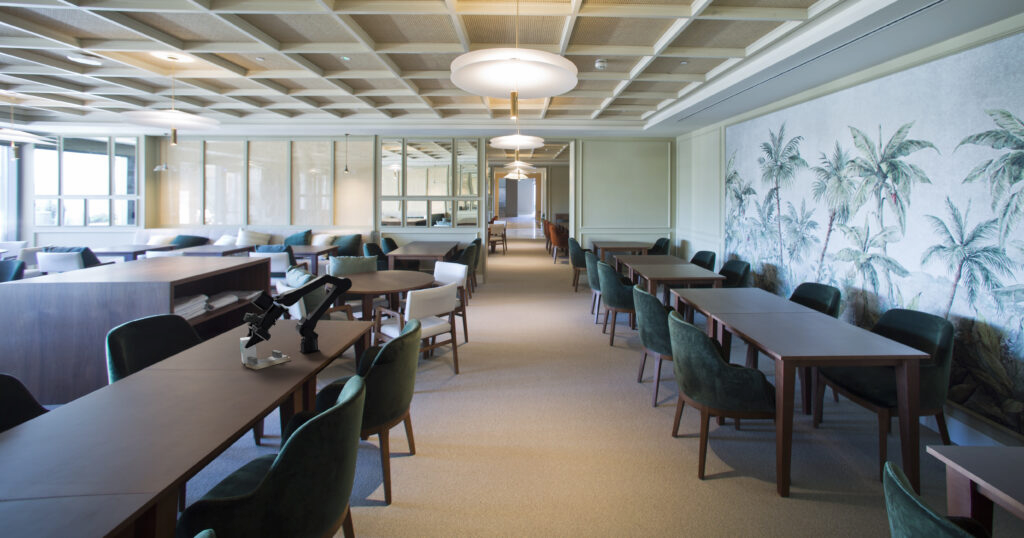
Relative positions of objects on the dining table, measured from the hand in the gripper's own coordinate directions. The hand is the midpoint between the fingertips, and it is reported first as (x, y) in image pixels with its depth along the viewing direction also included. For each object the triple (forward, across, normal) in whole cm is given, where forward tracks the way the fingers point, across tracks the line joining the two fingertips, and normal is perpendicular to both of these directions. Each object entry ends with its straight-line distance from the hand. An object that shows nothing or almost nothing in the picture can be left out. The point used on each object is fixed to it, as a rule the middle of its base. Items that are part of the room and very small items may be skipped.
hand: (244, 346), depth 214 cm
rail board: (0, +7, +10) cm, 12 cm away
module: (+4, 0, +6) cm, 7 cm away
